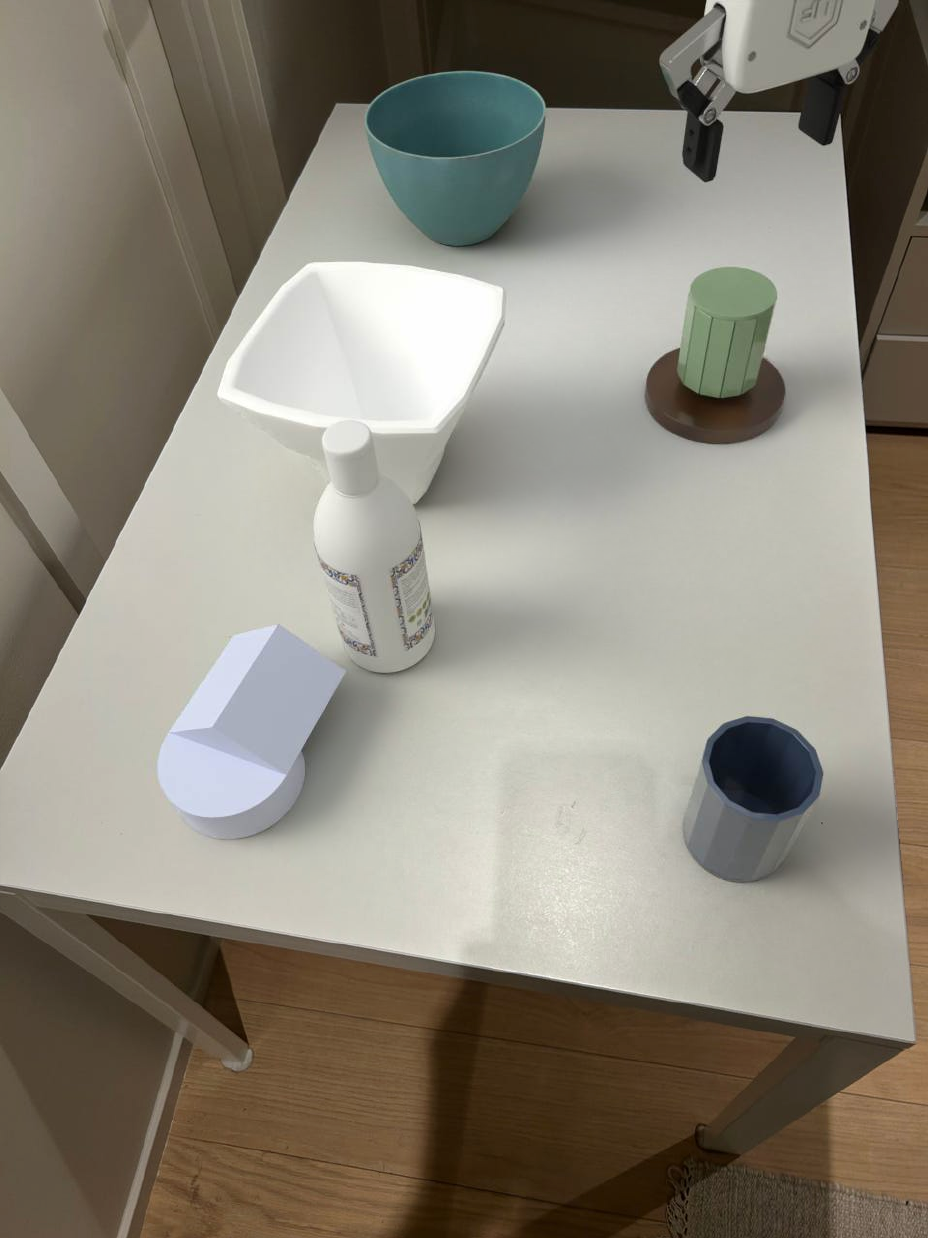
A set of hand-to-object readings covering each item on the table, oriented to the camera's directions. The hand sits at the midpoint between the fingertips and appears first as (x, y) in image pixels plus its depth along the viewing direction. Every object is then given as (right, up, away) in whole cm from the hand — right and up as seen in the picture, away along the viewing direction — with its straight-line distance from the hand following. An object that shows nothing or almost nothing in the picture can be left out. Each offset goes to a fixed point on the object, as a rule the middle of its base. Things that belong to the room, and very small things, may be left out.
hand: (757, 154), depth 66 cm
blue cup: (-4, -46, -7) cm, 47 cm away
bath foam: (-26, -34, +4) cm, 44 cm away
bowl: (-27, -21, +14) cm, 37 cm away
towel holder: (+2, -13, +17) cm, 22 cm away
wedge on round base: (-35, -42, -2) cm, 55 cm away
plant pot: (-21, +10, +37) cm, 44 cm away
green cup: (+1, -11, +15) cm, 19 cm away
